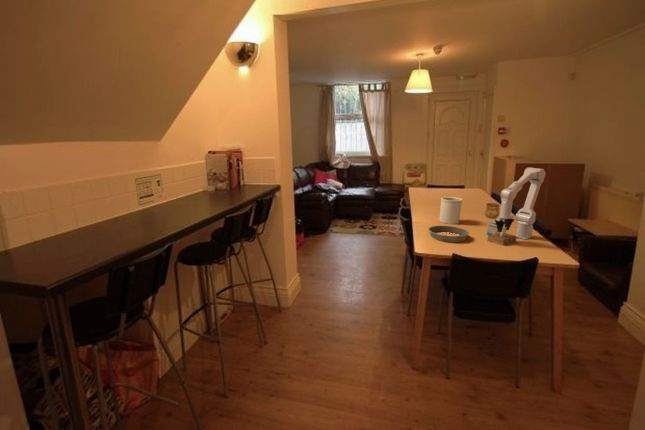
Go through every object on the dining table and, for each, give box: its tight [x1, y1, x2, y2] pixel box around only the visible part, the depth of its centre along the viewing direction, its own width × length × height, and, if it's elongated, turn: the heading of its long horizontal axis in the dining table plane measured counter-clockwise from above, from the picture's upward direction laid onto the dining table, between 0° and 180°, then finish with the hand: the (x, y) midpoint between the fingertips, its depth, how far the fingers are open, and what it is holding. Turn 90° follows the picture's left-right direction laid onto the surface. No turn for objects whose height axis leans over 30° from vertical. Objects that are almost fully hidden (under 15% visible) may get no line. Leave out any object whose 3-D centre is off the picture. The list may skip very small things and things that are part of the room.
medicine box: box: [486, 220, 499, 236], centre depth 226 cm, size 8×4×9 cm, turn 45°
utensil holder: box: [439, 196, 464, 225], centre depth 257 cm, size 15×15×18 cm
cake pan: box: [427, 225, 470, 243], centre depth 222 cm, size 25×25×4 cm
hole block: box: [487, 232, 518, 246], centre depth 215 cm, size 14×10×4 cm
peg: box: [500, 226, 507, 237], centre depth 214 cm, size 3×3×9 cm
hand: (503, 230), depth 213 cm, fingers open, 7 cm apart
